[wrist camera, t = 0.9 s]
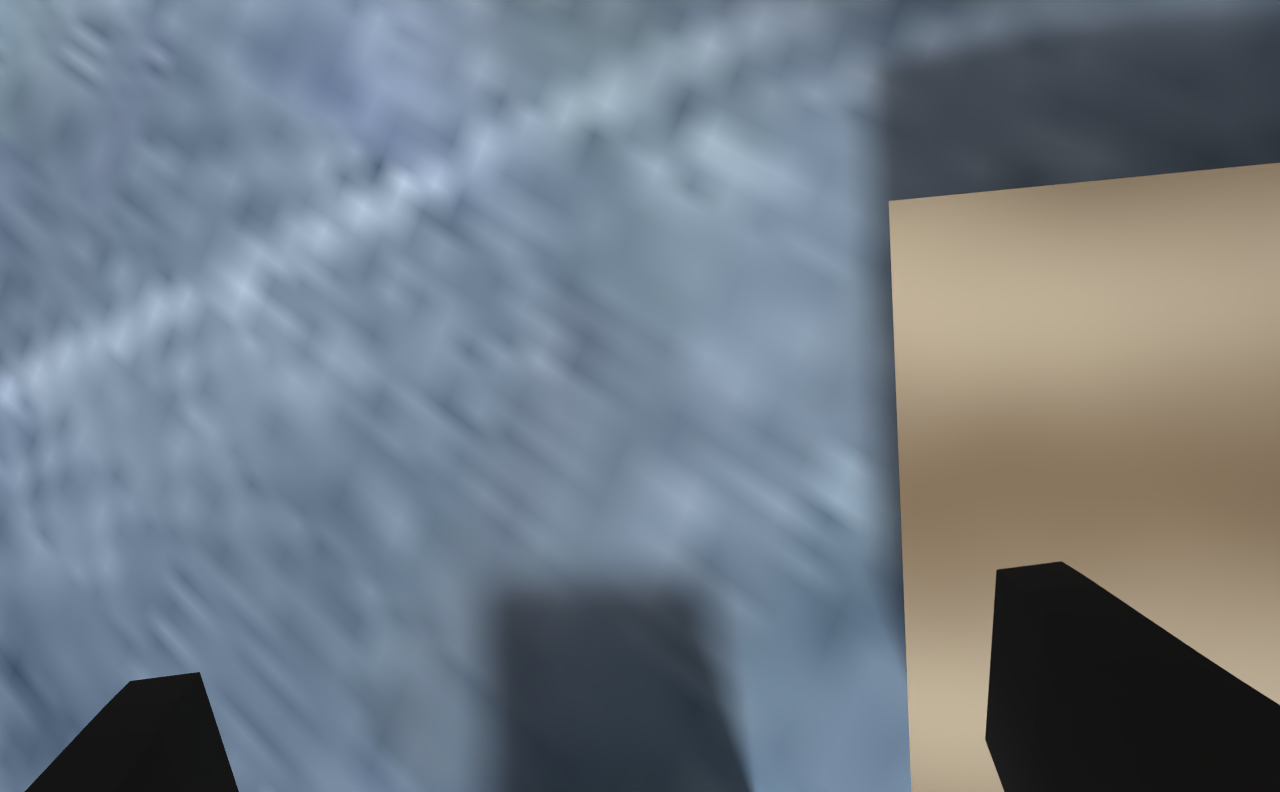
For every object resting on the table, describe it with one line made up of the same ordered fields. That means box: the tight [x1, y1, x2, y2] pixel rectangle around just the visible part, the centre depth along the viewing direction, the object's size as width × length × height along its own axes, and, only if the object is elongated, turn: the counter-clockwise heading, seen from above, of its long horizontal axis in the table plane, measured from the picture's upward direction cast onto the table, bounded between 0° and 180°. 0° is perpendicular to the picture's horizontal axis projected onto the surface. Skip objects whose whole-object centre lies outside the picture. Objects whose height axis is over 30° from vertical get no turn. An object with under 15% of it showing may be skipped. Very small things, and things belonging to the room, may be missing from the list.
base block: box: [889, 163, 1280, 792], centre depth 20 cm, size 10×10×4 cm
